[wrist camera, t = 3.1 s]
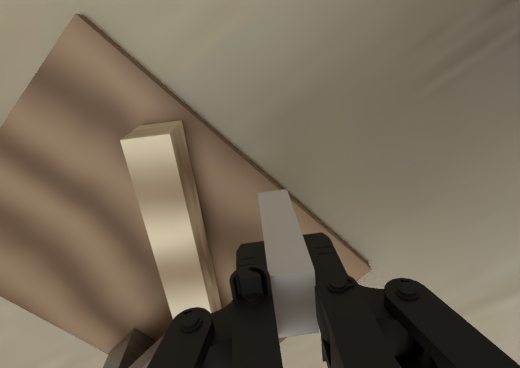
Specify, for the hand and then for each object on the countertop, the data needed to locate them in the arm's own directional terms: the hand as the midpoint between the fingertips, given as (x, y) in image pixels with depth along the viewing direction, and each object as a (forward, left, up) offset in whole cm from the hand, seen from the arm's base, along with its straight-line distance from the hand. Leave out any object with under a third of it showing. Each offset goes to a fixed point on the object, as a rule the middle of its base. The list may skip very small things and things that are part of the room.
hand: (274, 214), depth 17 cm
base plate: (+13, -1, -10) cm, 16 cm away
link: (+11, +2, -8) cm, 14 cm away
